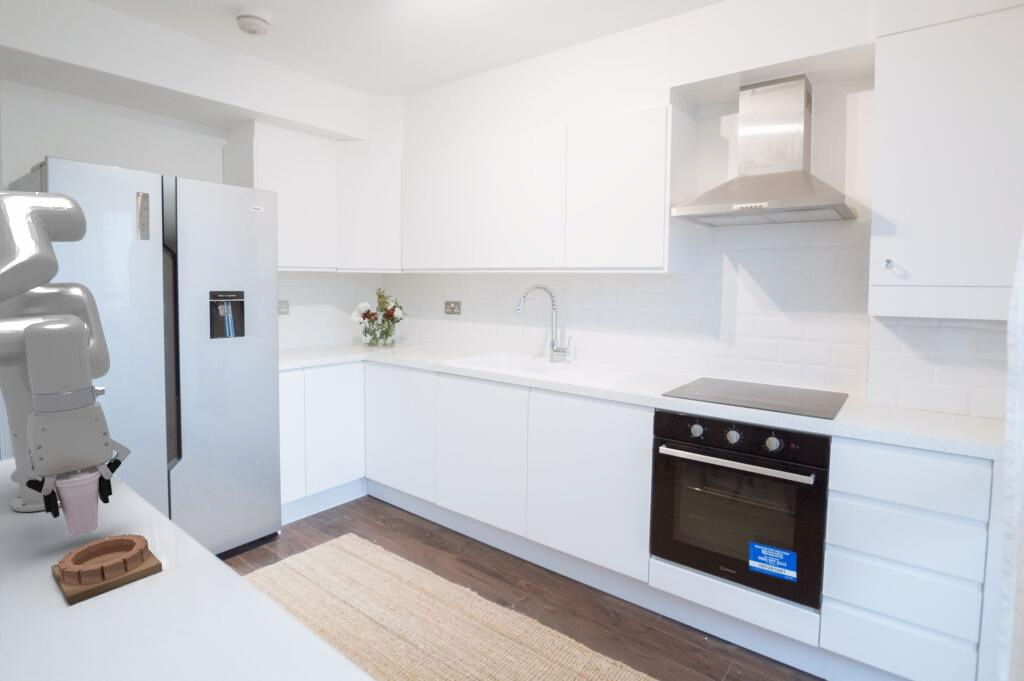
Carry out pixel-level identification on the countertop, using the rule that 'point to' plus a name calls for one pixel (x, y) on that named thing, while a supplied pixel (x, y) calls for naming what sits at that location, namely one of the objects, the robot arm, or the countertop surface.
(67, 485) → the smoothie
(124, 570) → the ring board
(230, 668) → the countertop surface
